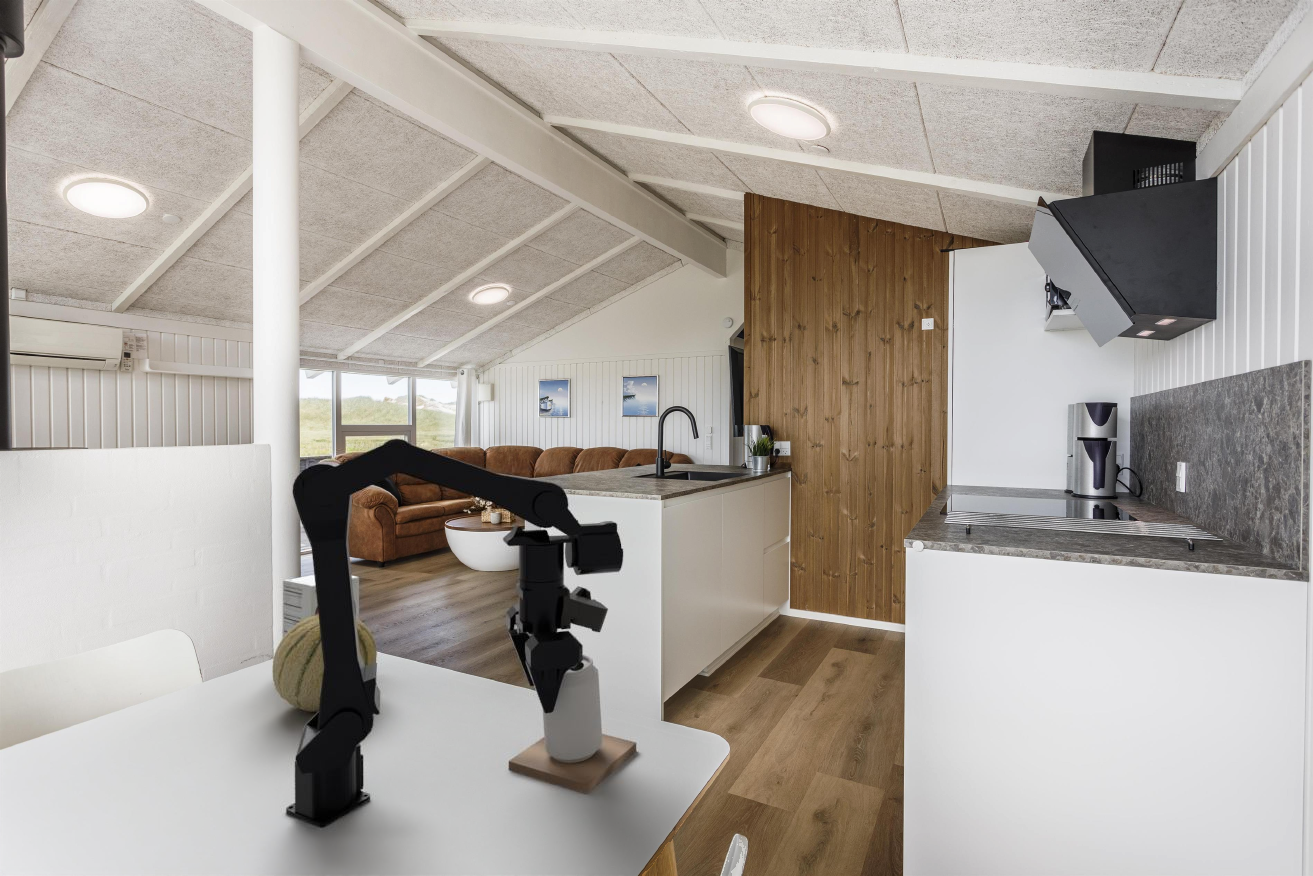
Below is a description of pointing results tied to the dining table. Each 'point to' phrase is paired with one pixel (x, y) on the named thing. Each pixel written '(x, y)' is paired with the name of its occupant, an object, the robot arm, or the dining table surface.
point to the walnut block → (574, 764)
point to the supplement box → (305, 600)
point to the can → (575, 716)
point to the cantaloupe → (309, 662)
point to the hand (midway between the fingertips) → (540, 698)
